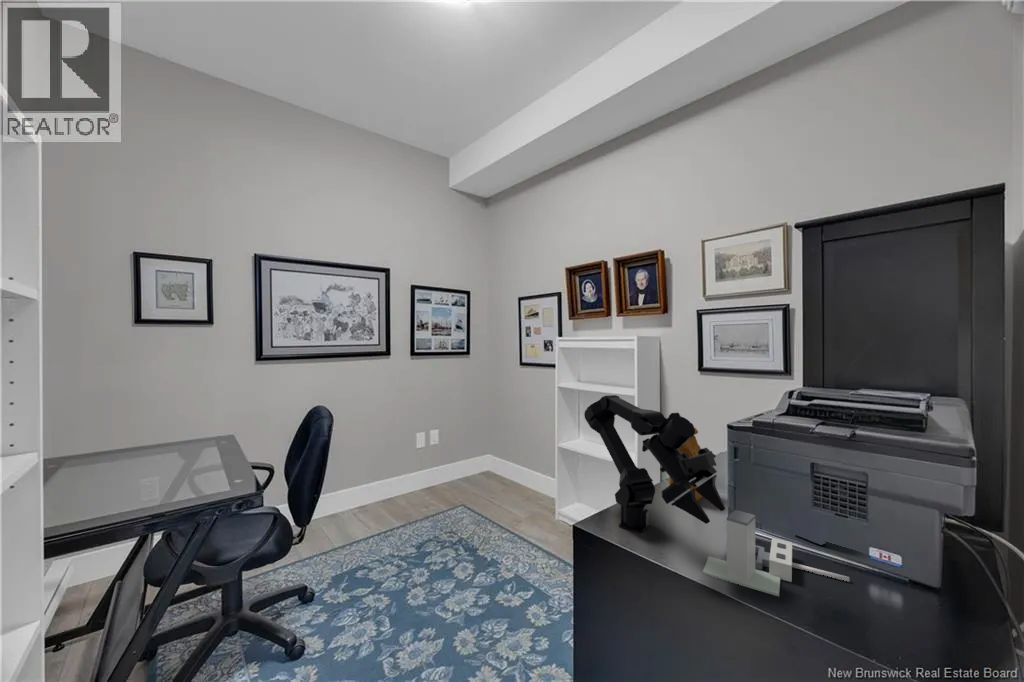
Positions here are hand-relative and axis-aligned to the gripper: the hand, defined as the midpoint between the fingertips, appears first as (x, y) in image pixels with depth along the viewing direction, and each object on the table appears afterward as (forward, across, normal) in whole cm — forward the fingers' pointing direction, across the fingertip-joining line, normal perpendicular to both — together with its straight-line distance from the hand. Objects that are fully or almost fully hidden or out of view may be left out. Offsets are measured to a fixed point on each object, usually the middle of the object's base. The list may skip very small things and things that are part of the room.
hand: (716, 516), depth 93 cm
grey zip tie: (+16, +11, 0) cm, 19 cm away
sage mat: (+12, 0, +4) cm, 12 cm away
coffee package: (-7, +36, +24) cm, 43 cm away
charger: (+11, 0, +4) cm, 12 cm away
